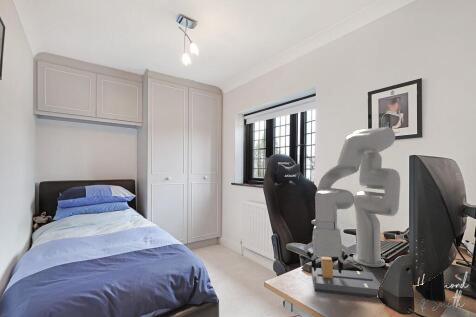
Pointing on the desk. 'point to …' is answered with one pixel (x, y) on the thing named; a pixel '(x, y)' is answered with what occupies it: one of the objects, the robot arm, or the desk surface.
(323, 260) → the fader tab
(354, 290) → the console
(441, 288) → the portable radio
